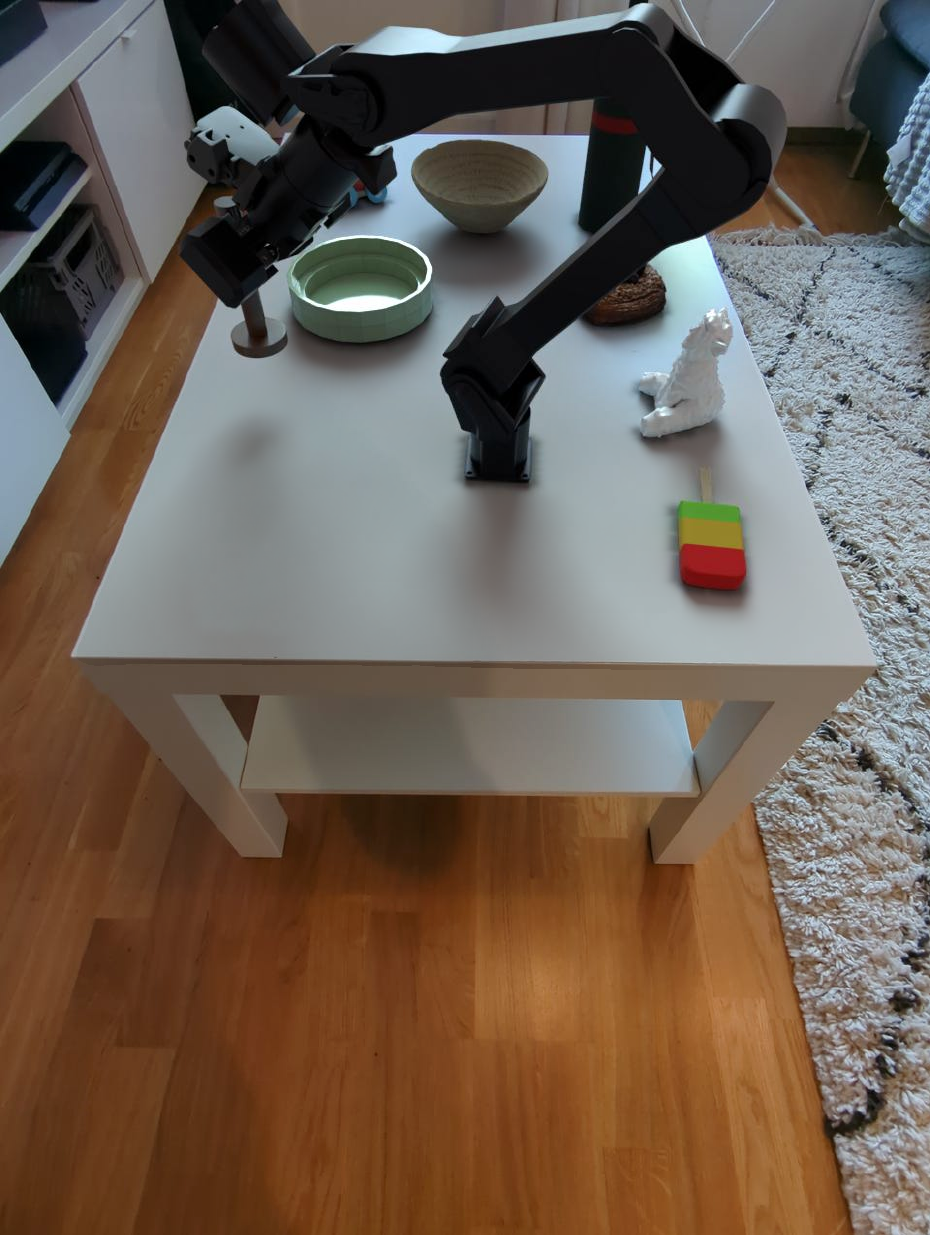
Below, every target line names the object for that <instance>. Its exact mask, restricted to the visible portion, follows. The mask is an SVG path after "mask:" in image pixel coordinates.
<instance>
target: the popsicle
mask: <svg viewBox="0 0 930 1235" xmlns="http://www.w3.org/2000/svg"><path fill="white" fill-rule="evenodd" d="M711 471H712V470H711V468H710V467H707V466H701V467H700V469H699V480H700V494H701V495H700V496H701V501H700V502H699V501H690V500H680V502H679V503H678V506H677V526H678V527H677V528H678V549H679V552H678V553H679V572H680V576H681V579H682V581H683V582H684V583H686V584H687V585H689V586H692V587H699V588H707V589H716V590H725V591H726V590H727V591H732V590H736V589H738V588H740V587H741V586H742V584H743V582H744V580H745V578H746V576H747V564H746V563H747V562H746V555H745V554H746V553H745V547H744V546H745V544H744V537H743V530H742V529H743V528H742V518H741V510H740V506H738V505H731V504H721V503H714V496H713V485H712V473H711Z"/></svg>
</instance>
